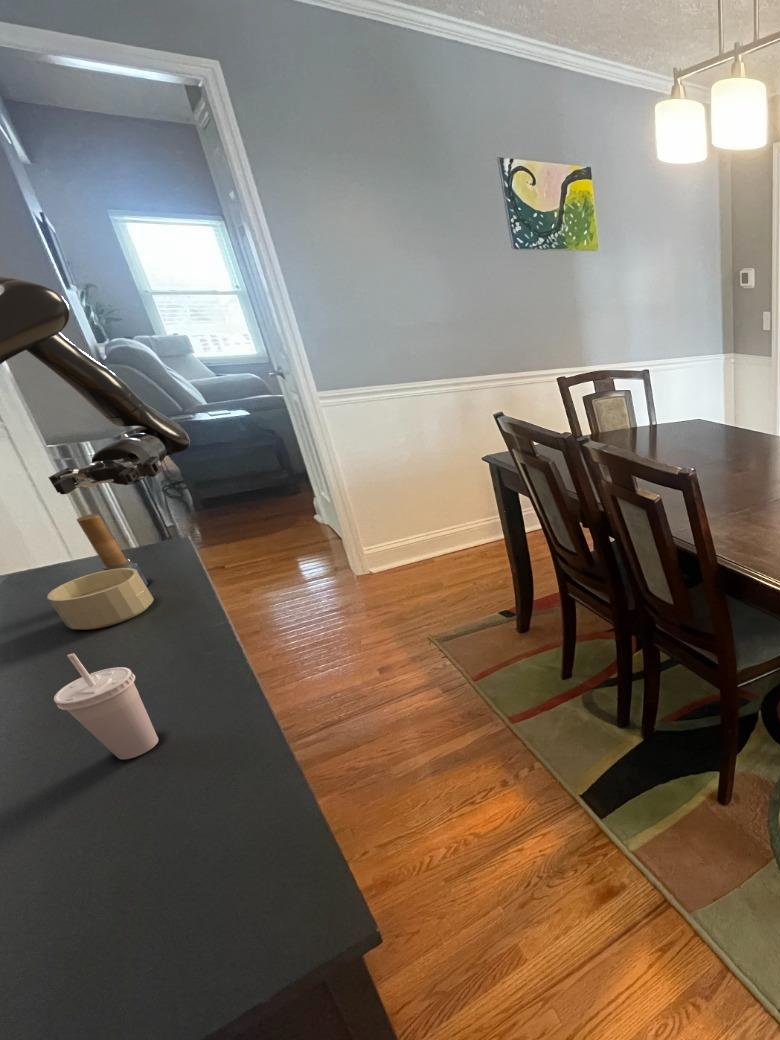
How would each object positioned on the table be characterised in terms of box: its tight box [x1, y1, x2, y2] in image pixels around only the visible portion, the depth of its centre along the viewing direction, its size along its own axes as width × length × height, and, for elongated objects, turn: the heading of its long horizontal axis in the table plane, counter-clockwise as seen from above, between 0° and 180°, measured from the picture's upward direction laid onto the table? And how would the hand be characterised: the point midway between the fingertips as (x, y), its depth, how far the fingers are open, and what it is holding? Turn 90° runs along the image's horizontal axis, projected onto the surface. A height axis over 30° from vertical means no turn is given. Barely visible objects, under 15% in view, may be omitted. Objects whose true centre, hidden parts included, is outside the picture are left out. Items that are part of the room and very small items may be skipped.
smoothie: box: [53, 652, 159, 760], centre depth 68 cm, size 6×6×14 cm
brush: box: [76, 513, 149, 586], centre depth 105 cm, size 5×5×14 cm
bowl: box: [46, 568, 155, 631], centre depth 98 cm, size 11×11×6 cm
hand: (92, 484), depth 105 cm, fingers open, 8 cm apart
